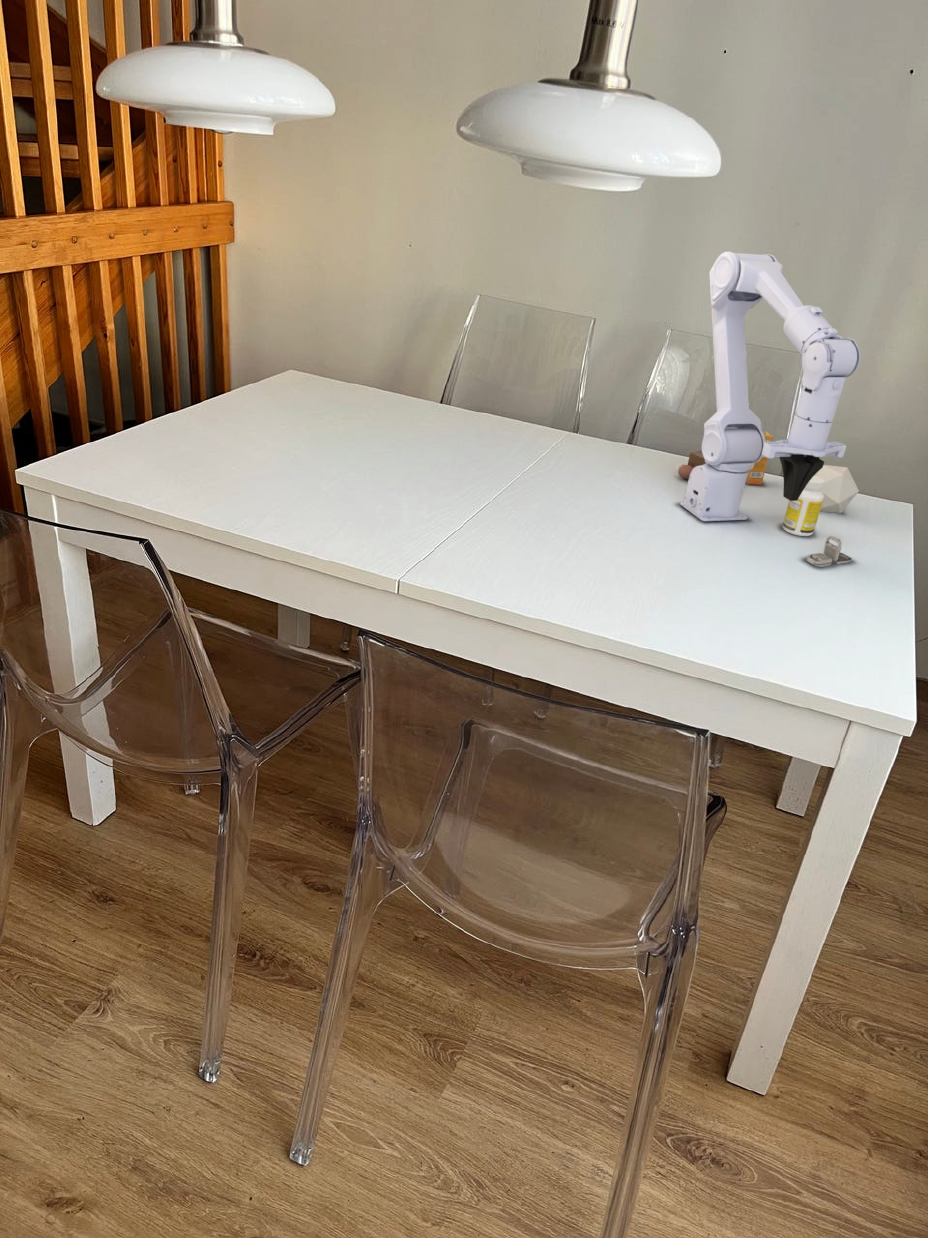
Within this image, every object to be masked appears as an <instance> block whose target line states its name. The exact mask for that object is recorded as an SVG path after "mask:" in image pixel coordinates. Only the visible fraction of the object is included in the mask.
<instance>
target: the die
mask: <svg viewBox="0 0 928 1238" xmlns="http://www.w3.org/2000/svg"><path fill="white" fill-rule="evenodd" d="M814 476H817V477H820V478H822V479H823V480H824V484H823V488H822V489H821V490H820V491H821V492H822V493H823V495H824V498H823V502H822V506H821V509H820V512H826V513H834V514H835V513H836V514H842V512H843V511H844V510H845V509H846V507H847V506H848V505H849V504H850V503H851V501H852V500H854V498H855V497H856V496H857V494H858V493H859V492H860V490H859V489H858V486H857V484H856V482H855V480H854V478H853V476H852V474H851V472H850V470H849V468H848V467H847V466H840V465H839V466H837V465H830V464H829V465H828V464H824V465H823V468H822V469H820V470H819V471H818V472H817V473H816V474H815V475H814Z"/></svg>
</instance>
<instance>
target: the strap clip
mask: <svg viewBox="0 0 928 1238" xmlns="http://www.w3.org/2000/svg"><path fill="white" fill-rule="evenodd" d="M830 540H831V541H834V542H836V543H837V545H835V544H833V543H831V542H830ZM841 550H842V541H841V539H840V538H838V537H836V536H834V535H828V536H827V537H826V539H825V541H824V547H823V553H821V552H817V553H810V554H807V555H806V556H805V558H804V560H805V561H807V562H808V563H809V564H811V565H813V566H814V567H819V568H823V567H827V566H831V565H832V563H834V564H837V565H839V564H848V563H850V562H851V561H852V559H853V558H852V557H850V556H848V555H847V554H844V552H843V553H842V552H841Z"/></svg>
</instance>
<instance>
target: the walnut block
mask: <svg viewBox="0 0 928 1238" xmlns="http://www.w3.org/2000/svg"><path fill="white" fill-rule="evenodd" d="M704 464H706V462H705V459H704V457H703V453H702V449H701V450H697V451H692V452H689V456H688V460H687V465H690V466H692V467H693V468H695V467H696V466H701V465H704Z"/></svg>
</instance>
